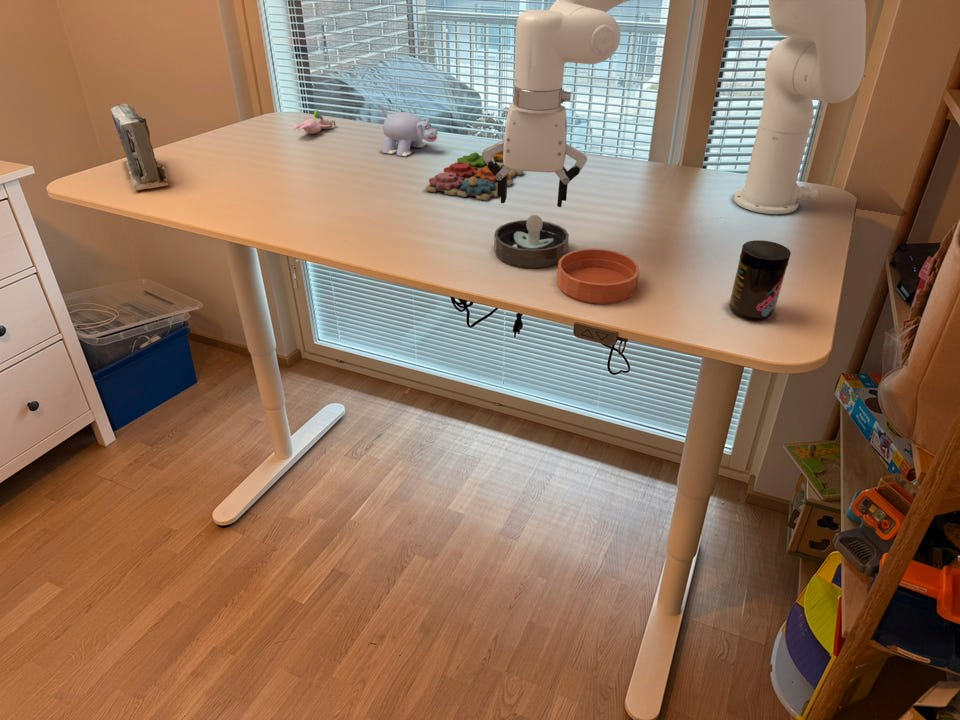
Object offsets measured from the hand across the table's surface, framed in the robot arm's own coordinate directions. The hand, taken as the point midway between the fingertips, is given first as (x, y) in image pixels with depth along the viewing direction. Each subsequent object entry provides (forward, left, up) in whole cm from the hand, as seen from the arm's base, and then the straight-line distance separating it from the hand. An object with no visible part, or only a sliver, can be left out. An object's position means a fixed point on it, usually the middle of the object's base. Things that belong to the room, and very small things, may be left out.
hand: (531, 202), depth 118 cm
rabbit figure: (+62, -65, -10) cm, 90 cm away
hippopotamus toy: (+34, -55, -10) cm, 65 cm away
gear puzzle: (+13, -40, -10) cm, 43 cm away
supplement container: (-36, +16, -10) cm, 40 cm away
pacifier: (0, 0, -9) cm, 9 cm away
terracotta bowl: (-12, +10, -10) cm, 19 cm away
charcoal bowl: (0, 0, -10) cm, 10 cm away
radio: (+90, -27, -10) cm, 95 cm away
